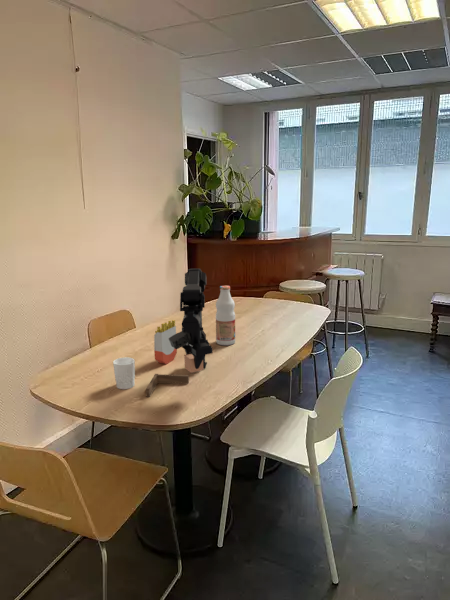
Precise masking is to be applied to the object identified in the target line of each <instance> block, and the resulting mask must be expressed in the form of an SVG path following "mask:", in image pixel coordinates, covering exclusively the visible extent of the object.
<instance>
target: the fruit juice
mask: <svg viewBox="0 0 450 600" xmlns="http://www.w3.org/2000/svg"><path fill="white" fill-rule="evenodd" d="M219 291H220V293H219V296H218V298H217V300H216V302H215V307H216V312H215V342H216V344H217V345H220V346H232V345H234V344H235V343H236V312H235V308H236V304H235V300H234V299H233V298H232V295H231V292H230V291H231V286H230V285H220V286H219Z"/></svg>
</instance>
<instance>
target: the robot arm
mask: <svg viewBox="0 0 450 600" xmlns="http://www.w3.org/2000/svg"><path fill="white" fill-rule="evenodd" d="M206 286H207V273H206V272H204V271H202V269H201V268H189V269H187V272H185V273H184V286H183V287H182V291H181V292H180V293H179V295H180V299H179V302H180V303H179V311H180V312H183V318H182V321H181V331H180V332H176V334H175V335H173V336H171V337H170V338H169V341H170V343H171V346H172V347H174V348H175V349H177V350H178V349H180V348H182V349H183V350H184V352H185V355H186V354H192V355H193V357H194V363H195V368H196V369H198V368H199V367H200V365H201V363H202V360H203V370H205V369H206V367H207V365H208V362H207V361H206V355H210V354H211V355H212V354H213V347H212V346H211V345H210V342H209V341H208V339H207V333H205V331H204V327H203V313H202V312H203V311H204V309H205V307H206V306H205V304H206V303H205V302H206V299H205V297H206V296H205V294H204V292H205V289H206Z"/></svg>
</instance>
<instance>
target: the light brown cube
mask: <svg viewBox="0 0 450 600" xmlns="http://www.w3.org/2000/svg"><path fill="white" fill-rule="evenodd" d="M183 357H184V369H186V371H188V372H189V373H190V374H191V373H192V374H193V373H195V372H200V371H204V369H203V360H202V363H201V365H200V367H199V368H198V369H196V368H195V363H194V357H193V355H192V354H186V353H185V354H184V355H183Z"/></svg>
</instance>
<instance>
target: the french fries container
mask: <svg viewBox="0 0 450 600" xmlns="http://www.w3.org/2000/svg"><path fill="white" fill-rule="evenodd" d="M160 325H161V326H157V329H156V330H155V333H154V335H153V336H154V337H153V341H154V342H153V343H154V345H153V346H154V351H153V352H154V360H155V361H156V362H158V363H159V364H165V365H168V364H169V363H171V362H173V361H174V360H175V358H176V357H177V353H178V349H175V348H174V347H172V346H171V343H170V341H169V338H170V337H171V336H173V335H175V334H177V326H176V320H174V319H172V320H168V321H167V322H164V323H162V322H161V324H160Z"/></svg>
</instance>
